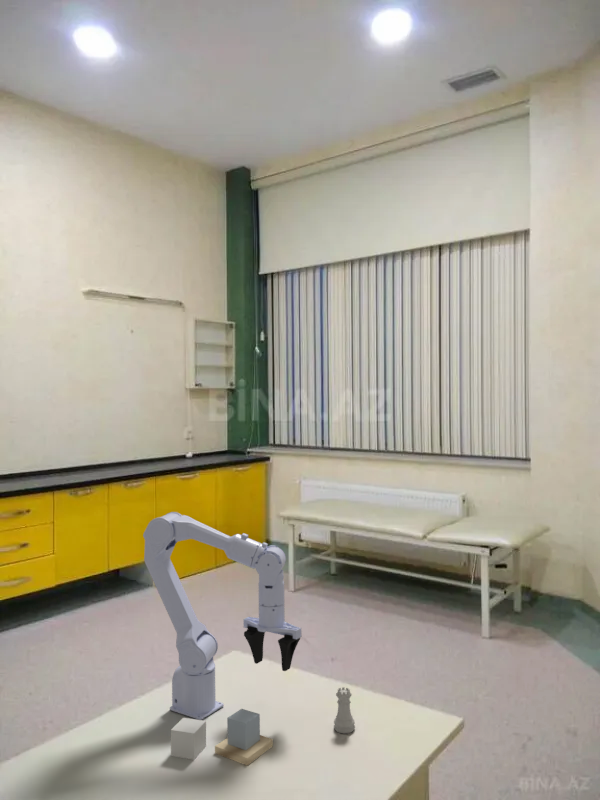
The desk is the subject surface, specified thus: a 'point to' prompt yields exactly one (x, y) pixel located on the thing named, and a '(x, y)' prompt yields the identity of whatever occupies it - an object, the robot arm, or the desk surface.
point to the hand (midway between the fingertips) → (272, 665)
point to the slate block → (243, 729)
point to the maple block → (244, 755)
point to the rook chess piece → (344, 712)
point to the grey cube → (188, 738)
